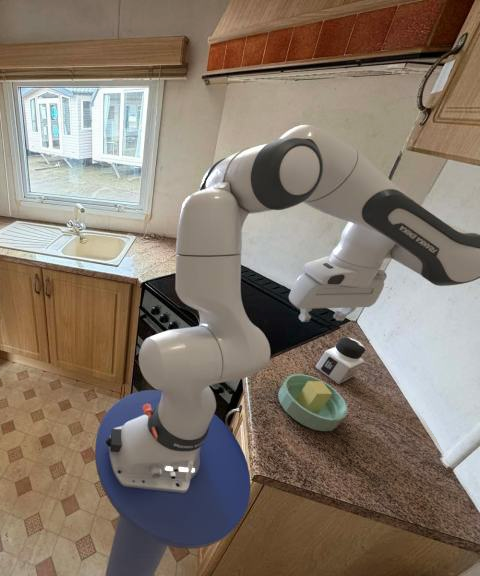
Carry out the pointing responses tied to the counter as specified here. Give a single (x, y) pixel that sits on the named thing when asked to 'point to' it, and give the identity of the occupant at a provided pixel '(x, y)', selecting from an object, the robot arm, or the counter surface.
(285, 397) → the bowl
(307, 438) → the counter surface
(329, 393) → the butter
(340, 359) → the container
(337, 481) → the counter surface
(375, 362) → the counter surface
